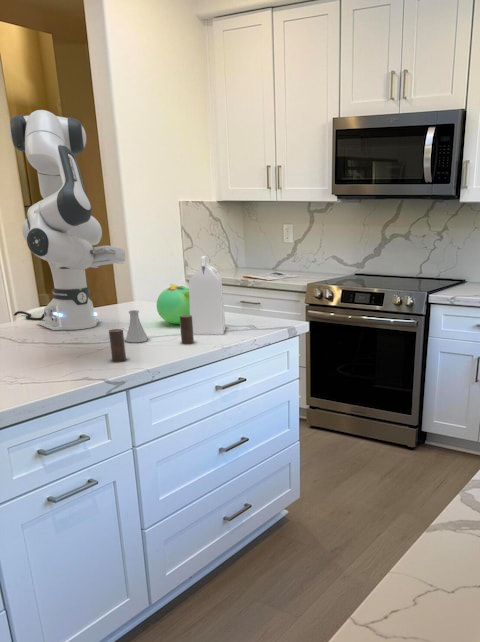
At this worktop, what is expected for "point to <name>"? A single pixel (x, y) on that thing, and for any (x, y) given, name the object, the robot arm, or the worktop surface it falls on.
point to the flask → (135, 329)
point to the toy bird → (173, 303)
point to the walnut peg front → (117, 345)
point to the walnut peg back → (186, 329)
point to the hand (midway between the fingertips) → (109, 263)
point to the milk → (206, 300)
